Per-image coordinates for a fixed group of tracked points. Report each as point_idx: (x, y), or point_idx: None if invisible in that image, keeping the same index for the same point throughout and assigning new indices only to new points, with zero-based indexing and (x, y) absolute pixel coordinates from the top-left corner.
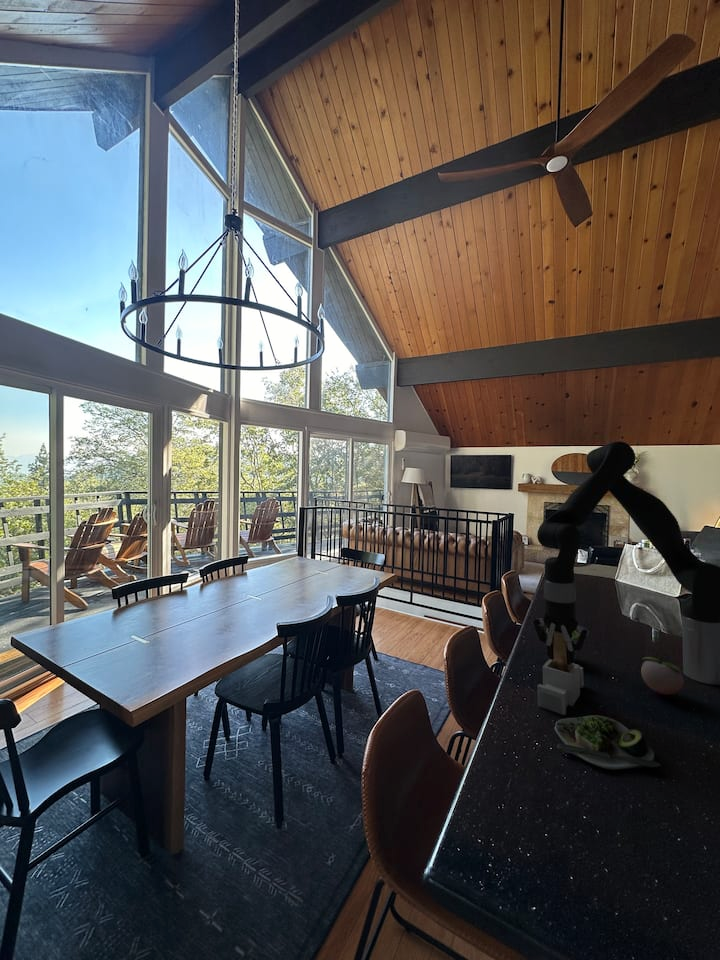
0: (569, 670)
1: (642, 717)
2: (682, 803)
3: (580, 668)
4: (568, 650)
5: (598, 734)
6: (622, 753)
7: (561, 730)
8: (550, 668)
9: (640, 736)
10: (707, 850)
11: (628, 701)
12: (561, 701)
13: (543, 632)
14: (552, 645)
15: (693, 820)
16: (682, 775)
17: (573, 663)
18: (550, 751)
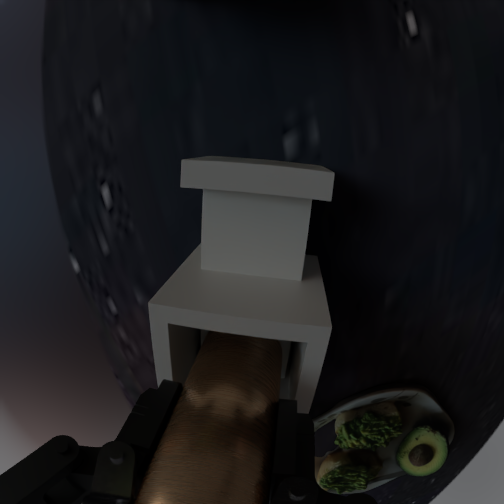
0: (280, 381)
1: (487, 294)
2: (443, 472)
3: (321, 196)
4: (269, 497)
5: (362, 480)
6: (397, 467)
7: None
8: None
9: (440, 463)
10: (433, 497)
11: (472, 209)
12: None
13: (46, 481)
14: (149, 463)
15: (441, 482)
16: (472, 434)
17: (294, 325)
18: None
